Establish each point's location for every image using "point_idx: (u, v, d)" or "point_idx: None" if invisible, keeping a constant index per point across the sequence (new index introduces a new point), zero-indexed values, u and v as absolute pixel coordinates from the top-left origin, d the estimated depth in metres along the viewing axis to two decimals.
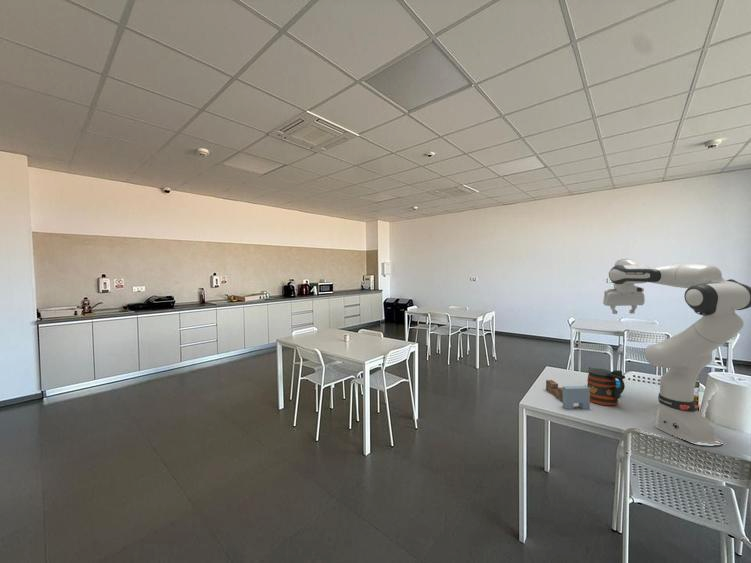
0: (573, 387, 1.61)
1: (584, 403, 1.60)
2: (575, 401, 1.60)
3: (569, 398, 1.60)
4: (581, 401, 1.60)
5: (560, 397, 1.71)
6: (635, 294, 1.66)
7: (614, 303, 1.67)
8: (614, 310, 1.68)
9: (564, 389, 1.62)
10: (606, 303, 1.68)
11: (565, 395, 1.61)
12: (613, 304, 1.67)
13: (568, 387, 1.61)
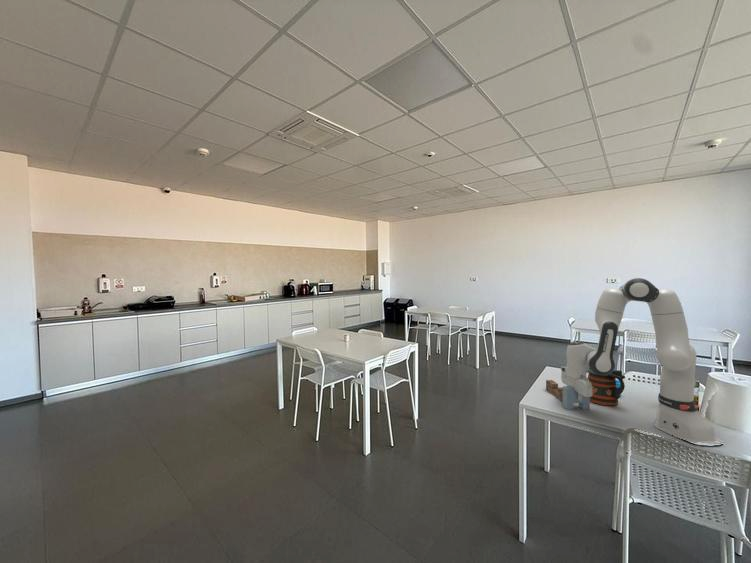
0: None
1: (584, 403, 1.60)
2: (575, 401, 1.60)
3: (569, 398, 1.60)
4: (581, 401, 1.60)
5: (560, 397, 1.71)
6: None
7: None
8: None
9: (564, 389, 1.62)
10: (591, 394, 1.51)
11: (565, 395, 1.61)
12: None
13: (568, 387, 1.61)
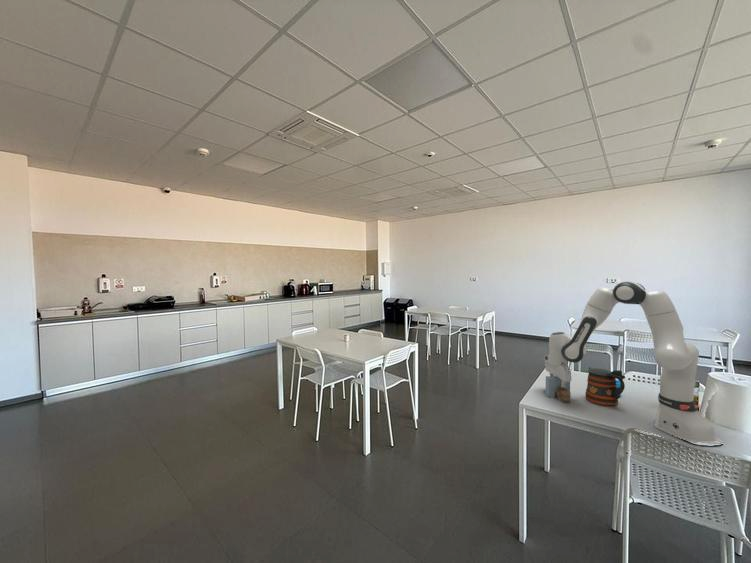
0: (555, 377, 1.76)
1: None
2: (556, 390, 1.75)
3: (551, 387, 1.75)
4: None
5: (560, 397, 1.71)
6: None
7: None
8: None
9: (547, 379, 1.76)
10: (570, 379, 1.66)
11: (547, 384, 1.76)
12: None
13: (550, 377, 1.76)
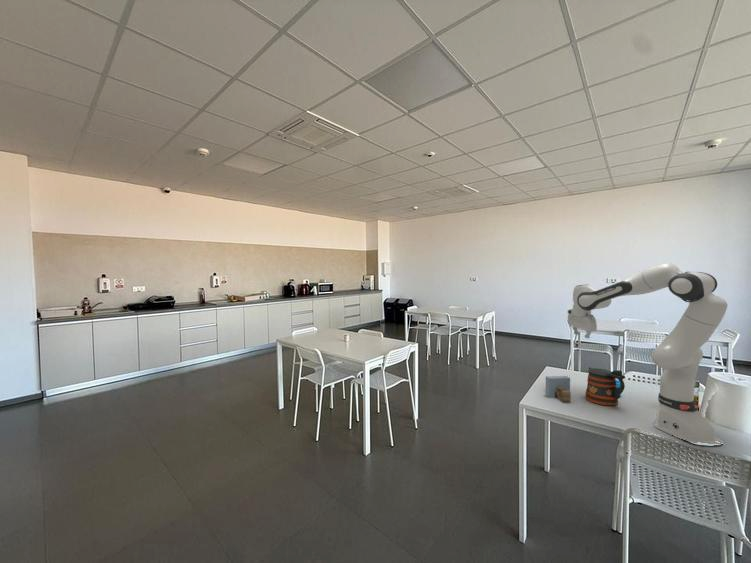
0: (555, 377, 1.76)
1: None
2: (556, 390, 1.75)
3: (551, 387, 1.75)
4: None
5: (560, 397, 1.71)
6: None
7: None
8: (589, 334, 1.71)
9: (547, 379, 1.76)
10: (595, 329, 1.67)
11: (547, 384, 1.76)
12: None
13: (550, 377, 1.76)
